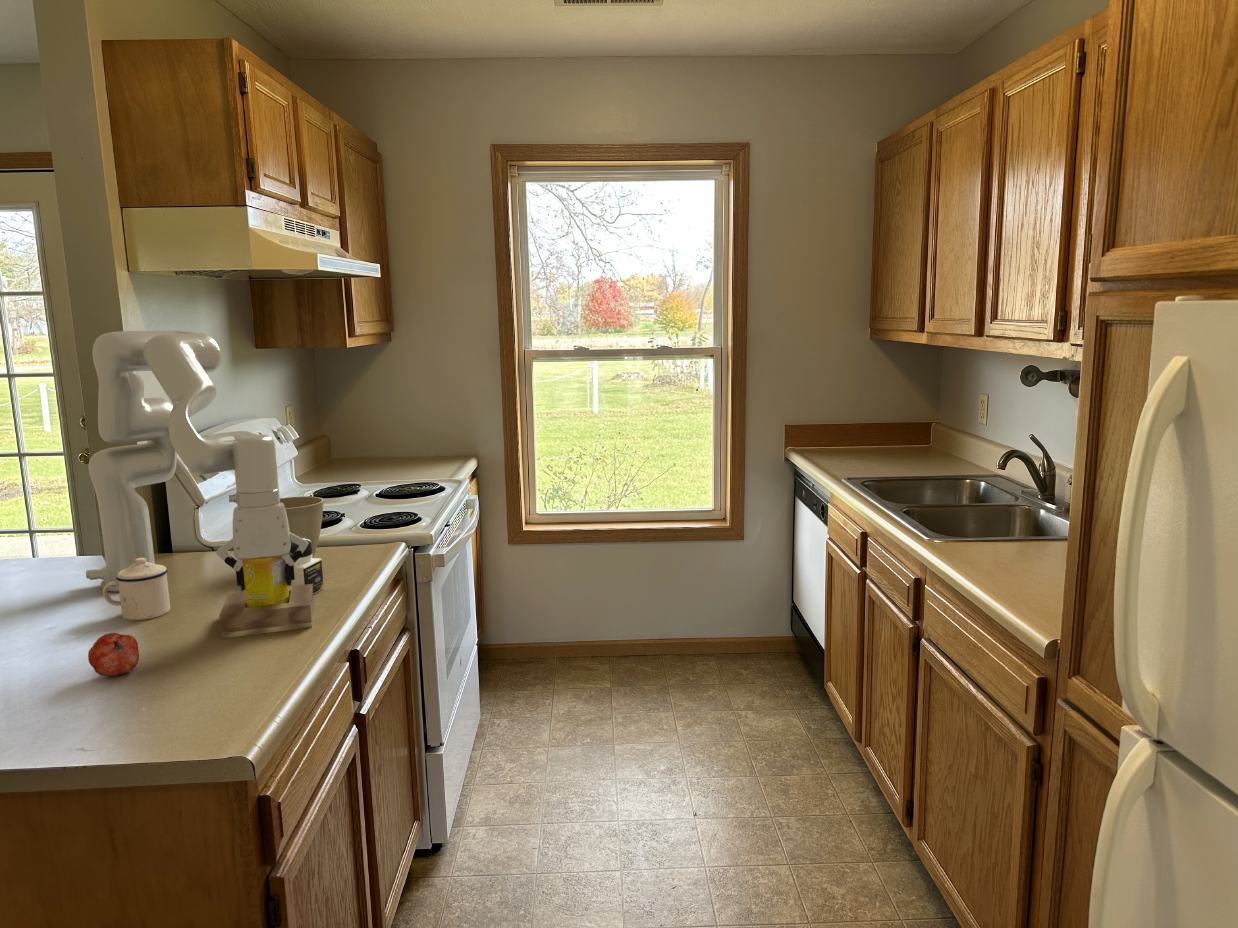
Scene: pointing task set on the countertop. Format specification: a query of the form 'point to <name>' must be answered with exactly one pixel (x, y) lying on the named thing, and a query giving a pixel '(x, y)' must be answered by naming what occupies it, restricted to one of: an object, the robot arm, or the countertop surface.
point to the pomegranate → (114, 654)
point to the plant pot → (305, 517)
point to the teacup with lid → (141, 591)
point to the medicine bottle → (307, 569)
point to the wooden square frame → (267, 613)
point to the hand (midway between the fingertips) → (266, 585)
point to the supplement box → (265, 581)
